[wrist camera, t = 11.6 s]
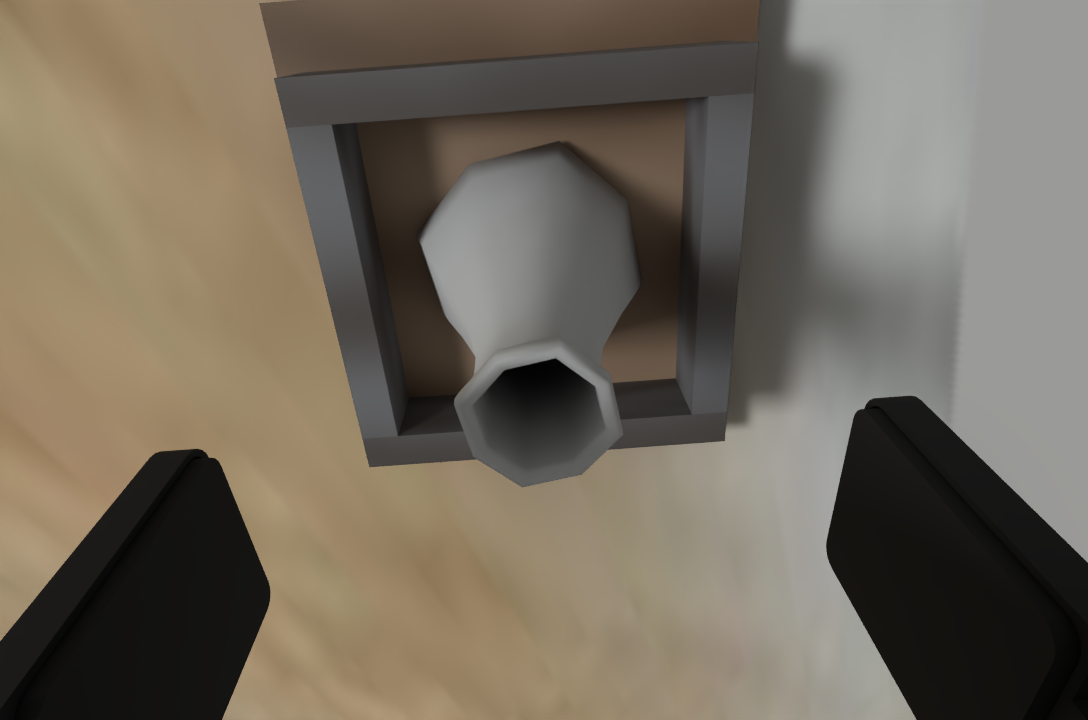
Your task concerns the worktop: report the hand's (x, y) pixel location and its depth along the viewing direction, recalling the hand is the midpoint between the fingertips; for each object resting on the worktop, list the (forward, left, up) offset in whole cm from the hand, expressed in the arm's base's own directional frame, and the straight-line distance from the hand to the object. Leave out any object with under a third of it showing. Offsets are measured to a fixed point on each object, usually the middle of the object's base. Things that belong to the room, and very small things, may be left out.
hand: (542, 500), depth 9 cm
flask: (0, 0, -13) cm, 13 cm away
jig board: (+1, 0, -14) cm, 14 cm away
